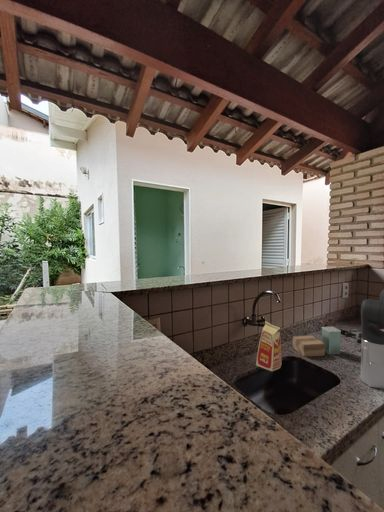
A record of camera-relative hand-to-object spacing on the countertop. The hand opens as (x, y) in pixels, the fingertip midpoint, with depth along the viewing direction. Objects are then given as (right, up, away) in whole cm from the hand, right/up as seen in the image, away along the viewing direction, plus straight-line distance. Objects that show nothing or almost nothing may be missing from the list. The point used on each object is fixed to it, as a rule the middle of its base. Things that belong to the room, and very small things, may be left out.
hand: (351, 338), depth 124 cm
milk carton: (-47, -8, -14) cm, 50 cm away
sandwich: (-23, -7, 0) cm, 24 cm away
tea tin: (-11, -7, -1) cm, 13 cm away
